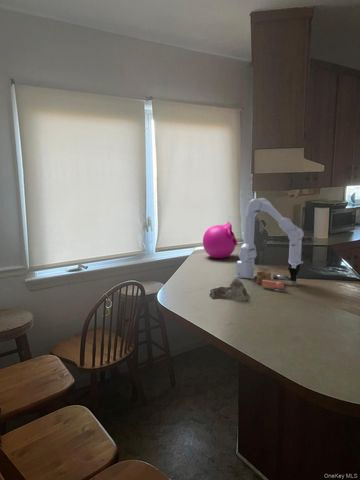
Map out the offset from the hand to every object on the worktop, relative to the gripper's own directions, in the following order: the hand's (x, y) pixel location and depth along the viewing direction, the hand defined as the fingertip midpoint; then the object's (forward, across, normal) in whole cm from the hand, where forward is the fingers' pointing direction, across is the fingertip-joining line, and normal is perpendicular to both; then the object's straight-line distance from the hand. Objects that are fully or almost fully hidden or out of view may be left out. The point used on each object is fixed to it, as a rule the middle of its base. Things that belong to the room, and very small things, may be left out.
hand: (293, 279), depth 176 cm
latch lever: (+2, -11, +9) cm, 15 cm away
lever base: (+3, -12, +6) cm, 14 cm away
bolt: (+3, 0, +4) cm, 5 cm away
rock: (+4, -29, +27) cm, 39 cm away
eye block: (+3, 0, +15) cm, 15 cm away
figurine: (+4, +54, +52) cm, 75 cm away
